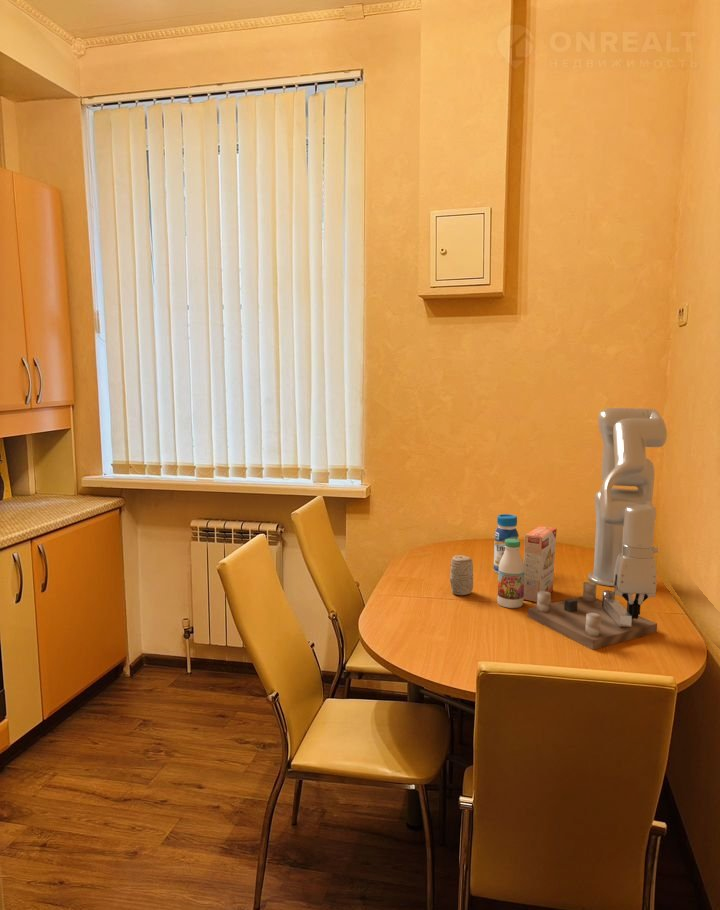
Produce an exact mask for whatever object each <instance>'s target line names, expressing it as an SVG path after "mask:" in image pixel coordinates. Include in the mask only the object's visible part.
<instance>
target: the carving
mask: <svg viewBox="0 0 720 910" xmlns="http://www.w3.org/2000/svg"><path fill="white" fill-rule="evenodd" d="M473 564H474V563H473V559H472V558H471V557H470V556H466V555H463V554H459V555H457V554H456V555H454V556H453V557H452V558H451V562H450V566H451V567H450V571H449V572H450V573H449V575H450V576H449V583H450V587H451V593H452V594H454V595H455V596H466V595H470V594H471V593H472V592H473V589H474V565H473Z"/></svg>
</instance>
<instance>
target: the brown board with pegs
mask: <svg viewBox="0 0 720 910" xmlns="http://www.w3.org/2000/svg"><path fill="white" fill-rule="evenodd" d="M582 587H583V589H582V590H583V591H582V596H578V597H573V598H568V599H564V600H560V601H556V602H551V600H552V599H551V598H552V597H551V596H552V593H551V592H550V593H549V592H545V591H540V592H538V595H537V602H536V606H533V607H529V608H527V617H528V619H532V620H533V621H535V622H537V623H539V624H541V625H543V626H545V627H547V628H550V629H551V630H552V631H555V632H557V633H558V634H561V635H562V636H564V637H566V638H569V639H571V640H572V641H575V642H576V643H578V644H580V645H582V646H585V647H586V648H588V649H590V650H592V651H594V650H597V649H601V648H605V647H608V646H611V645H612V646H613V645H616V644H620V643H623V642H627V641H630V640H634V639H638V638H641V637H645V636H648V635H652V634H655V633H657V631H658V630H657V629H658V623H656V622H654V621H652V620H650V619H647V618H645V617H642V616H639V615H638V619H635V618H634V619H632V622H631V627H620V626H619V625H618V624H617V623H616V622H615V621H614V619H613V618H612V617H611V616H610V615H609V614H608V612H607V611H606V610H605V609H604V608H603V607H602V599H600V598H597V583H594V582H592V581H585V582H583V586H582Z"/></svg>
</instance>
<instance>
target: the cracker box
mask: <svg viewBox="0 0 720 910" xmlns="http://www.w3.org/2000/svg"><path fill="white" fill-rule="evenodd" d="M557 532H558V531H557V528H556V527H551V526H543V525H539V526H537V527H536V528H535V529H532V530H531V531H529V532H527V533H526V534H524V551H523V552H524V554H523V563H524V598H523V601H524V600H525V601H530V602H534V603H537V595H538V592H540V591H545V592H549V593H550V594H551V592H552V591H554V578H555V577H554V575H555V574H554V573H555V559H556V546H557V545H556V544H557V543H556V542H557Z"/></svg>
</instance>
